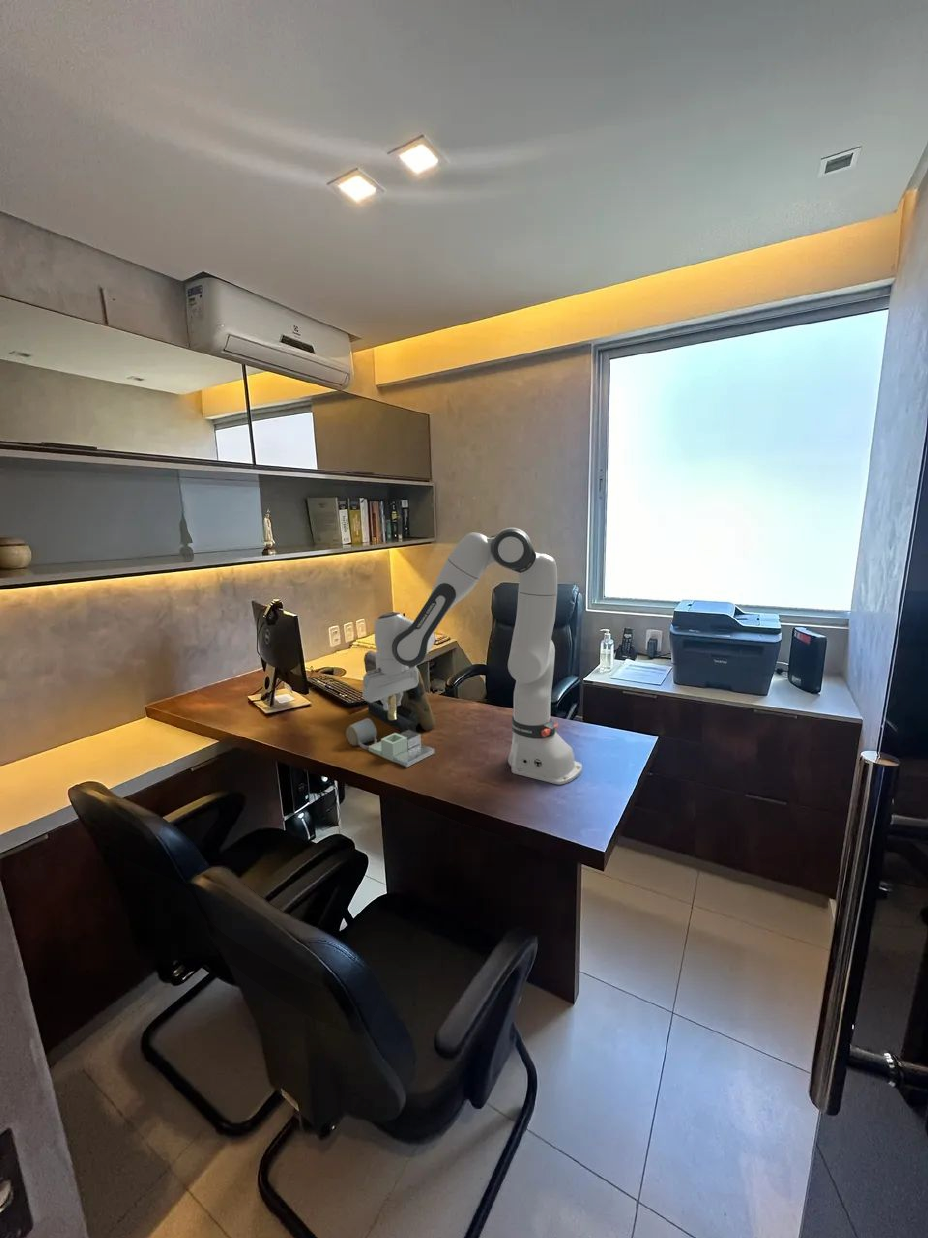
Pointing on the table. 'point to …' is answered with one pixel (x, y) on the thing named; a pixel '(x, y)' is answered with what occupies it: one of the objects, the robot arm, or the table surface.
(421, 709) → the tablet
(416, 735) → the sliding leaf
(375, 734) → the ceramic mug
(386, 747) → the green square socket base
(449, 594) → the robot arm
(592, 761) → the table surface
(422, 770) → the table surface
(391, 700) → the hinge pin
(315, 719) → the table surface
